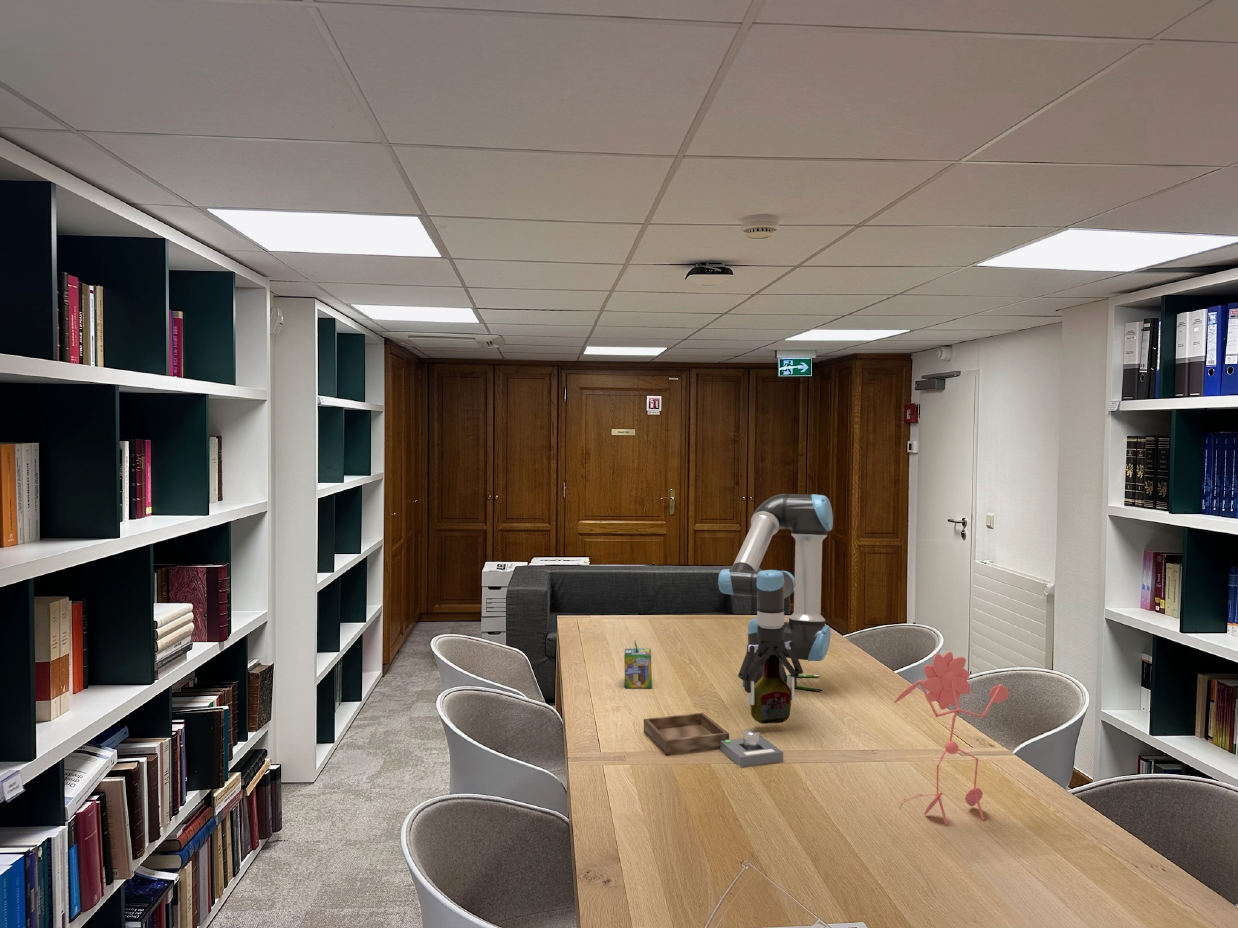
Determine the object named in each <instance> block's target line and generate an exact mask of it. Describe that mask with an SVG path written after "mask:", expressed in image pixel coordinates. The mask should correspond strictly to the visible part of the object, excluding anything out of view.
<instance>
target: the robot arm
mask: <svg viewBox="0 0 1238 928" xmlns="http://www.w3.org/2000/svg"><path fill="white" fill-rule="evenodd" d="M833 515H834V514H833V509H832V504H831V502H830V498H828V496H825V494H824V495H823V494H815V493H812V494H807V493H805V494H803V493H802V494H801V493H800V494H798V493H797V494H796V493H791V494H790V493H780V494H776V495H774V496H771V497H769V498H768V499H766V500H765V501H763V502H762V503H761V504H760V505H759V506H758V507H757V508H756V509H755V511H754V512H753V514H752V516H751V519H750V528H749V531H748V533H746V537H745V539H744V541H743V543H742V545H741V547H740V549H739V552H738V553H737V556H736V558H735V561H733V562H734V563H733V564H732V566H731V568H727V569H726V568H723V569H722V570H721V571H719V574H718V578H717V579H718V580H717V581H718V582H717V585H718V589H719V591H720V593H722V594H724V595H731V596H744V597H745V596H746V597H756V610H757V612H756V617H753V618H752V619H751V620H750V621H748V625H747V628H748V629H747V632H746V633H747V645H746V653H745V656H744V658H743V661H742V665H741V666H740V669H739V672H738V675H737V678H739V679H740V680H742V687H743V688H744V691H745V692H746V694H747V696H746V697H747V703H748V704H751V705H754V685H755V684H756V683H757V682H758V681H759V680H760V679H761V677H762V675H763V668H764V661H765V660H766V659H768V658H769V657H770V656H771V655H776V656H777V657H779V672H780V677H781V679H782V680H783V681H784V682H785V683H786V684H787V685H788V686H789V688H790V690H791V701H795V688H797V686H798V682H797V681H798V679H797V678H799V676H800V675H802V674H803V673H804V670H803V667H802V665H801V662H800V661H801V660H802V661H808V662H811V661H812V662H821V661H823V660H824V659H825V658H826V656H827V654H828V651H829V647H830V643H831V635H832V634H831V627H830V626H829V625H827V624H826V619H825V618H824V617H823V615H821V612H822V611H821V610H822V609H821V606H822V605H821V604H822V603H821V601H822V571H823V570H822V568H823V566H822V564H823V541H824V540H825V539H826V538H827V537H828V532H830V531H832V530H833V527H834V526H833V525H834V516H833ZM780 529H786V530H787V529H788V530H789V529H790V533H791V535H790V536H792V537H793V539H794V541H795V550H794V551H795V552H794V553H795V554H794V555H795V556H794V575H793V574H792V573H791V572H789V571H786V570H777V569H766V570H765V569H764V570H759V568H760V566H761V563H762V561H763V559H764V556H765V554H766V552H767V550H768V547H769V545H770V542H771V540H772V537H773V536H774V535H776V534H777V533H778V531H779V530H780ZM758 570H759V571H758ZM792 594H793V612H792V614H791V615H790V616H789V617H788V621H785V598H788V597H790V596H791V595H792ZM788 659H790V660H791V663H792V664H791V663H790V661H789V660H788ZM786 670H787V672H788V673H789V674H787V672H786Z"/></svg>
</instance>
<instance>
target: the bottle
mask: <svg viewBox="0 0 1238 928" xmlns="http://www.w3.org/2000/svg"><path fill="white" fill-rule="evenodd" d="M749 706H750V714H751V718H752V719H753V720H755V721H756V722H757V723H759V724H762V725H764V724H765V725H766V724H779V723H780V724H781V723H784V722H786V721H787V720H788V719H789V717H790V714H791V707H792V700H791V690H790V688H789V686H788V685H787V684H786V683H785V682H784V681H783V680H782V679H781V677H780V672H779V657H777V656H776V655H771V656H770V657H769V658H768V659H766V660H765V661H764V668H763V675H762V677H761V679H760V680H759V681H758V682H757V683H756V684H755V685H754V705H751V704H750V705H749Z"/></svg>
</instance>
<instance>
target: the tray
mask: <svg viewBox="0 0 1238 928" xmlns="http://www.w3.org/2000/svg"><path fill="white" fill-rule="evenodd" d="M643 734H645V735H646V736H647V737H648V738H649V740H650V741H651V742H653V744H655V746H656V747H657V748H658V749H659V750H660V751H661V752H662V753H663V754H664V755H665V756H671V755H672V756H673V755H680V754H681V755H682V754H689V753H695V752H696V753H698V752H705V751H713V750H720V741H724V740H730V733H729V732H728V731H727V730H725V729H724V728H723V727H722V726H720V724H718V723H717V722H715V721H714V720H713V719H711V718H710V717H709V716H708V715H707V714H705V713H704V712H696V713H686V714H678V715H677V714H676V715H668V716H659V717H650V718H644V719H643Z"/></svg>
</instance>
